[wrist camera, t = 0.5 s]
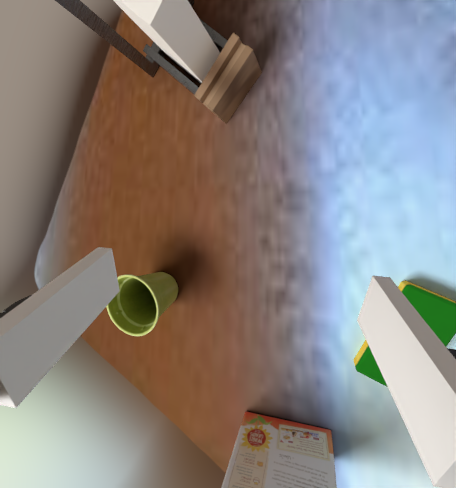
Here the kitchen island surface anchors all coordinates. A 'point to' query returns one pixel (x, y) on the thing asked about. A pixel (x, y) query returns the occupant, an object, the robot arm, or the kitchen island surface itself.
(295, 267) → the kitchen island surface
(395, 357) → the robot arm
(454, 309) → the dish sponge
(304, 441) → the cracker box
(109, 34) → the frame
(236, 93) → the offcut stack
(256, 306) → the kitchen island surface
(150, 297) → the plant pot
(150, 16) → the white block
